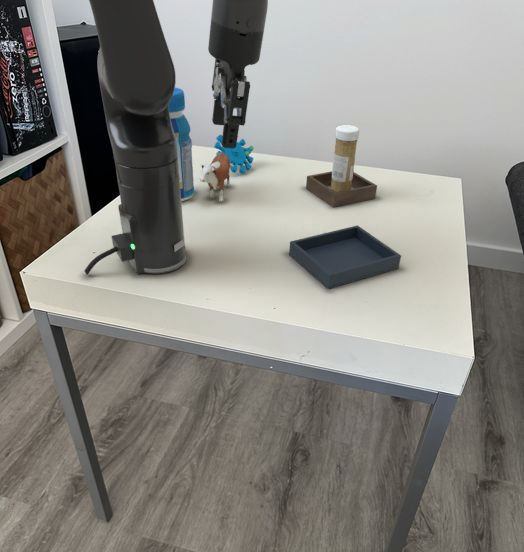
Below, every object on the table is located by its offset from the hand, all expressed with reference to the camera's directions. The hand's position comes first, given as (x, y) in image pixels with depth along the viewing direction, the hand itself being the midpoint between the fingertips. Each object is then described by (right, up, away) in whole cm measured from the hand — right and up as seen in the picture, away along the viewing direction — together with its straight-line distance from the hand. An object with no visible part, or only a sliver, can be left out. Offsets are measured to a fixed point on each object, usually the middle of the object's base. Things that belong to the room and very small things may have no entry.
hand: (223, 135), depth 84 cm
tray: (+20, -19, +5) cm, 28 cm away
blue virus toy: (0, +7, +37) cm, 38 cm away
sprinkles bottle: (+23, -1, +28) cm, 36 cm away
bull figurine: (-3, -2, +25) cm, 26 cm away
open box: (+23, -1, +27) cm, 36 cm away
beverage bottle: (-12, -2, +25) cm, 28 cm away
